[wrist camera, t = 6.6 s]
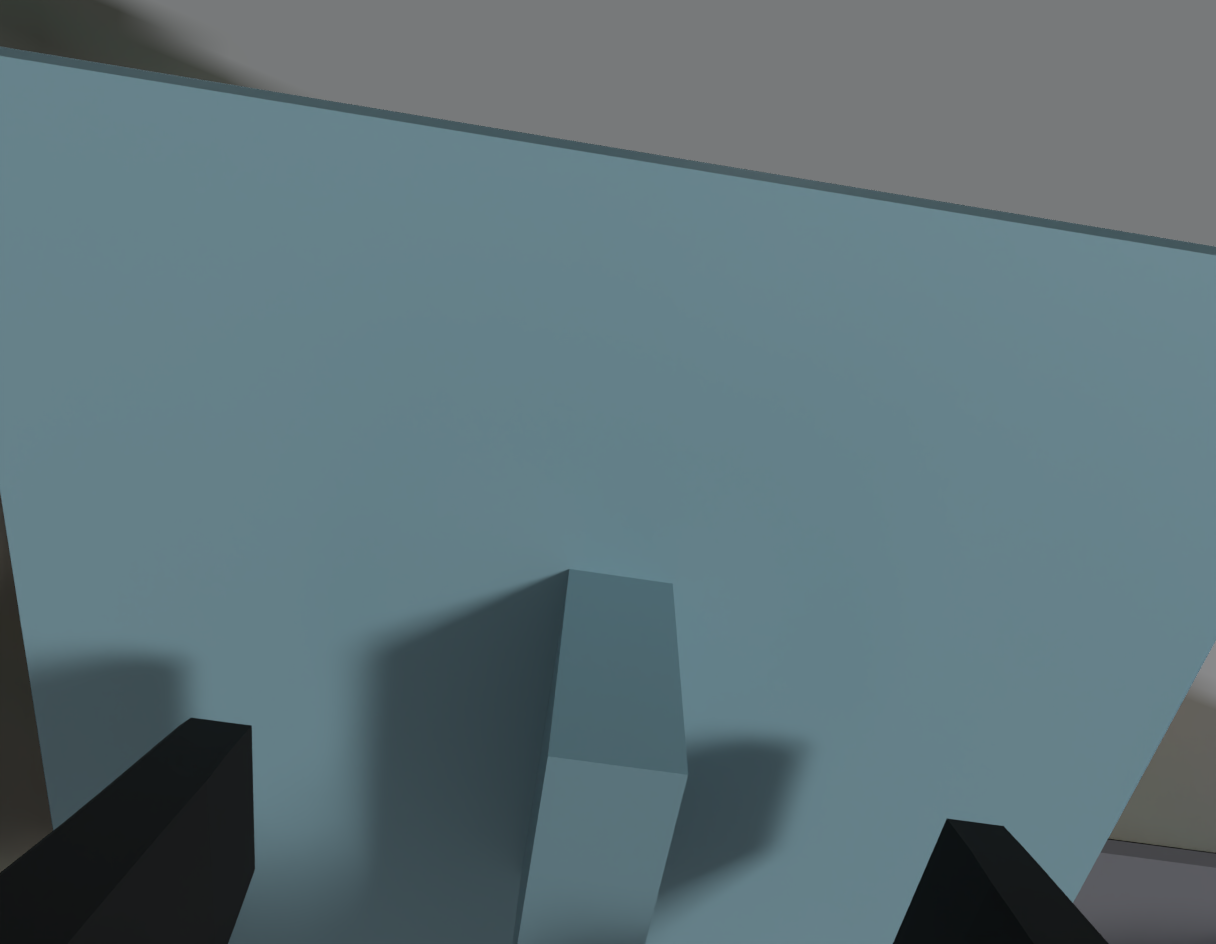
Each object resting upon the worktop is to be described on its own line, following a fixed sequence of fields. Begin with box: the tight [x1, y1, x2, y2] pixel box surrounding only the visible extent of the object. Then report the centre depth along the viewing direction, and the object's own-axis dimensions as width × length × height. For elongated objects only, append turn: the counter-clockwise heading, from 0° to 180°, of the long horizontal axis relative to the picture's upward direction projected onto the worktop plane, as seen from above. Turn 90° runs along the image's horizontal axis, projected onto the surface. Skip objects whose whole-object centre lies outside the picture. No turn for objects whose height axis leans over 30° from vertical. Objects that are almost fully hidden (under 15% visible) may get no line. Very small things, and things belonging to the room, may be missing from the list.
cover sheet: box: [0, 47, 1216, 944], centre depth 10 cm, size 14×14×4 cm
